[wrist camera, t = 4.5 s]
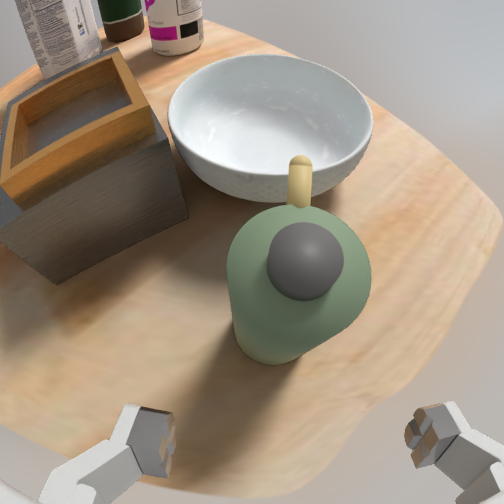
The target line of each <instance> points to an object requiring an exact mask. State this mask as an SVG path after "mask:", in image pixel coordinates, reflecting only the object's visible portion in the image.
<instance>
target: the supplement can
mask: <svg viewBox="0 0 504 504" xmlns="http://www.w3.org/2000/svg"><path fill="white" fill-rule="evenodd" d="M145 5H146V11H147V18H148V24H149V30H150V36H151V41H152V47H153V50H154V51H155V52H157V53H159V54H160V55H165V56H174V55H181V54H185V53H189V52H191V51H193V50H195V49H197V48H198V47H199V46H200V45H201V44H202V43H203V41H204V36H203V20H202V4H201V0H145Z"/></svg>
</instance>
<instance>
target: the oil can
mask: <svg viewBox="0 0 504 504" xmlns="http://www.w3.org/2000/svg"><path fill="white" fill-rule="evenodd" d="M311 186H312V162H311V161H310V159H309V158H308V157H306V156H304V155H297V156H295V157H293V158H292V159H291V161H290V163H289V173H288V191H287V205H281V206H277V207H273V208H270V209H267V210H265V211H263V212H261V213H259V214H257V215H256V216H254V217H253V218H251V219H250V220H249V221H248V222H247V223H245V224H244V225H243V227H242V228H241V229H240V230H239V231H238V233H237V234H236V236H235V237H234V239H233V242H232V244H231V246H230V249H229V252H228V257H227V264H226V273H227V281H228V289H229V296H230V303H231V311H232V318H233V325H234V332H235V337H236V340H237V343H238V345H239V346H240V348H241V350H242V351H243V352H244V353H245V354H246V355H247V356H248V357H250V358H251V359H252V360H254V361H256V362H258V363H261V364H265V365H281V364H285V363H288V362H290V361H292V360H294V359H296V358H298V357H299V356H301V355H303V354H305V353H306V352H308V351H310V350H311V349H313V348H315V347H317V346H318V345H320V344H322V343H323V342H325V341H327V340H328V339H330V338H331V337H333V336H335V335H336V334H338V333H340V332H341V331H343V330H344V329H345V328H347V327H348V326H349V325H350V324H351V323H352V322H353V321H354V320H355V319H356V318H357V317H358V316H359V314H360V313H361V311H362V310H363V308H364V306H365V304H366V302H367V299H368V297H369V293H370V288H371V267H370V261H369V258H368V255H367V252H366V250H365V248H364V246H363V244H362V242H361V241H360V239H359V238H358V236H357V235H356V234H355V232H354V231H353V230H352V229H351V228H350V227H349V226H348V225H347V224H346V223H344V222H343V221H342V220H341V219H339V218H338V217H336V216H335V215H333V214H331V213H329V212H327V211H325V210H322V209H319V208H316V207H312V206H310V203H311Z"/></svg>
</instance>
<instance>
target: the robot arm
mask: <svg viewBox="0 0 504 504" xmlns="http://www.w3.org/2000/svg"><path fill="white" fill-rule="evenodd" d="M413 416H414V419H413V420H412V421H410V422H409V423H408V425H407V426H406V428H405V434H404V437H405V442H406V445H407V446H408V447H409V448H410V449H412V453H411V457H412V460H413V462H414V465H415V467H416V469H417V468H421V467H425V466H428V465H432V464H435V466H436V467H437V468H439V469H440V470H441V471H442V472H443V473H444V474H446V475H447V476H448V477H449V478H450V479H452V480H453V481H454V482H455V483H456V484H457V485H459V486H460V487H461V488H462V489H463V490H465V491H464V492H463V493H462V494H460V495H459V496H458V497H457V498H456V500H455V501H456V504H504V446H503V445H501V444H499V443H498V442H496V441H494V440H492V439H491V438H488V437H487V436H485V435H484V434H482V433H480V432H478V431H477V430H475V429H473V430H471V428H470V426H469V425H468V423H467V421H466V420H465V418H464V416H463V415H462V413H461V412H460V410H459V408H458V407H457V405H456V403H454V402H453V401H450V402H445V403H441V404H435V405H430V406H426V407H421V408H418V409H417V410H416V411H415V413H414V415H413ZM173 421H174V416H173V412H167V411H162V410H157V409H152V408H147V407H142V406H137V405H132V404H128V403H127V404H126V405H125V406H124V407H123V409H122V412H121V414H120V416H119V418H118V421H117V423H116V425H115V428H114V430H113V432H112V435H111V437H110V439H109V440H103V441H102V442H100V443H98V444H97V445H95V446H93V447H92V448H90V449H88V450H87V451H85V452H83V453H82V454H80V455H78V456H77V457H75V458H73V459H72V460H70V461H68V462H66V463H65V464H63V465H61V466H59V467H58V468H56V469H54V470H52V473H51V475H50V477H49V479H48V481H47V483H46V485H45V487H44V489H43V492H42V493H41V496H40V498H39V500H38V501H37V500H35V499H33V498H31V497H29V496H28V495H26V494H24V493H22V492H21V491H19V490H17V489H16V488H14V487H12V486H10V485H9V484H7V483H6V482H4V481H3V480H1V479H0V504H110V503H111V502H113V501H114V500H115V499H116V498H117V497H119V496H120V495H121V494H122V493H123V492H125V491H126V490H127V489H128V488H129V487H130V486H132V485H133V484H134V483H135V482H136V481H137V480H139V479H140V478H141V477H142V476H143V474H146V475H151V476H156V477H162V478H169V474H170V470H171V466H172V460H171V457H170V455H171V454H173V453H174V452H175V448H176V441H177V430H176V427H175V426H174V425H173Z"/></svg>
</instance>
